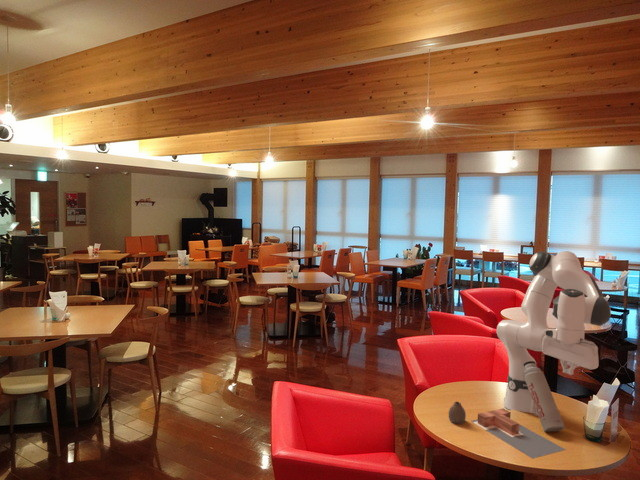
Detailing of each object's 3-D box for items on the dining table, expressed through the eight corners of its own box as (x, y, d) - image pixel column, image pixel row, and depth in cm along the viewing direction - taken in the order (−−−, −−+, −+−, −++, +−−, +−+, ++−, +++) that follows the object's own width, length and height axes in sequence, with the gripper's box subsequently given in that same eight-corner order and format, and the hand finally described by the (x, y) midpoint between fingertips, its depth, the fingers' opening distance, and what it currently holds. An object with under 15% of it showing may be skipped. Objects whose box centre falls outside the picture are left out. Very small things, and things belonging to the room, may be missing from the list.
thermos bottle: (547, 426, 179) (522, 359, 197) (541, 433, 185) (517, 367, 203) (568, 425, 179) (541, 358, 197) (560, 431, 185) (535, 366, 203)
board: (501, 416, 198) (501, 414, 198) (565, 452, 170) (566, 449, 170) (470, 423, 192) (470, 420, 192) (532, 461, 163) (532, 458, 163)
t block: (502, 417, 195) (503, 408, 195) (527, 431, 183) (528, 421, 183) (477, 423, 189) (477, 413, 189) (501, 437, 178) (502, 427, 177)
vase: (466, 427, 187) (467, 407, 187) (448, 426, 189) (449, 405, 188) (464, 420, 194) (465, 400, 193) (447, 418, 195) (448, 398, 195)
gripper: (604, 342, 154) (601, 382, 155) (551, 328, 173) (550, 363, 174) (591, 344, 152) (589, 385, 153) (539, 329, 171) (538, 365, 172)
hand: (567, 373), depth 164 cm, fingers closed
